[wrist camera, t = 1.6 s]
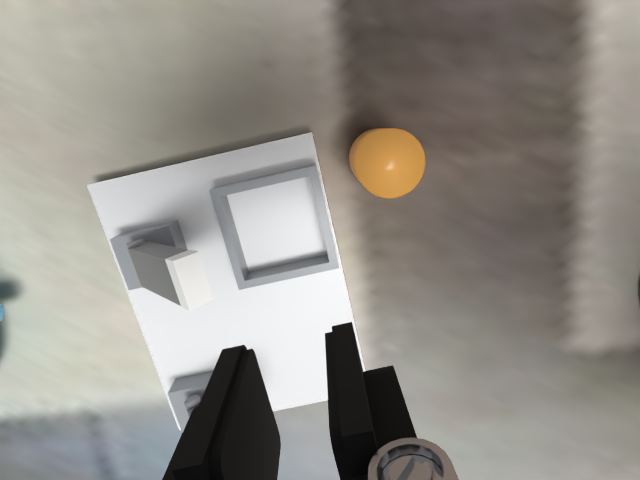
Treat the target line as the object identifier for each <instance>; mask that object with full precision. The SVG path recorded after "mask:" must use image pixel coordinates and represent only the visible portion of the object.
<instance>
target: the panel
mask: <svg viewBox="0 0 640 480" xmlns="http://www.w3.org/2000/svg"><path fill="white" fill-rule="evenodd" d="M87 187H88V190H89V192H90V195H91V198H92V200H93V203H94V206H95V208H96V211H97V214H98V216H99V219H100V222H101V224H102V227H103V230H104V232H105V235H106V237H107V240H108V243H109V245H110V248H111V251H112V253H113V256H114V259H115V261H116V264H117V267H118V269H119V272H120V275H121V277H122V280H123V282H124V285H125V288H126V290H127V293H128V296H129V298H130V301H131V304H132V306H133V309H134V312H135V314H136V317H137V320H138V322H139V325H140V328H141V330H142V333H143V335H144V338H145V341H146V343H147V346H148V349H149V351H150V354H151V357H152V359H153V362H154V365H155V367H156V370H157V373H158V375H159V378H160V381H161V383H162V386H163V388H164V391H165V394H166V396H167V399H168V402H169V404H170V407H171V410H172V412H173V415H174V418H175V420H176V423H177V426H178V428H179V430H181V431H182V433H183V431H184V429H185V426H186V424H187V422H188V419H189V416H188V413H187V410H186V407H185V405H184V402H185V400H186V399H187V398H189V397H191V396H193V395H199V396H200V399H202V396H203V394H204V392H205V389H206V387H207V385H208V382H209V380H210V377H211V375H212V373H213V370H214V368H215V365H216V363H217V361H218V358H219V356H220V354H221V351H222V350H223V349H226V348H231V347H236V346H240V345H245V346H246V348H247V350H248V349H253V350H254V352H255V354H256V358H257V361H258V364H259V368H260V371H261V374H262V378H263V381H264V384H265V388H266V391H267V394H268V398H269V401H270V404H271V408H272V411H277V410H282V409H287V408H291V407H296V406H301V405H306V404H311V403H316V402H321V401H326V400H328V389H327V369H326V348H325V333H329V332H332V326H335V325H340V324H344V323H349V322H352V324H353V328H354V333H355V337H356V342H357V346H358V350H359V355H360V359H361V364H362V368H363V372H364V371H365V366H364V362H363V358H362V353H361V349H360V344H359V340H358V335H357V331H356V326H355V322H354V317H353V313H352V308H351V304H350V299H349V295H348V291H347V286H346V282H345V277H344V273H343V268H342V264H341V259H340V255H339V250H338V246H337V241H336V237H335V232H334V228H333V224H332V219H331V215H330V210H329V206H328V201H327V197H326V192H325V188H324V183H323V179H322V174H321V170H320V165H319V161H318V157H317V152H316V148H315V143H314V139H313V134H312V132H310V133H306V134H301V135H297V136H293V137H288V138H284V139H280V140H276V141H271V142H267V143H263V144H259V145H254V146H250V147H246V148H242V149H237V150H233V151H229V152H225V153H220V154H216V155H212V156H207V157H203V158H199V159H195V160H190V161H186V162H182V163H178V164H173V165H169V166H165V167H161V168H156V169H152V170H148V171H143V172H139V173H135V174H131V175H126V176H122V177H118V178H114V179H109V180H105V181H101V182H97V183H93V184H89V185H87ZM139 239H144V240H145V242H153V243H158V244H163V245H167V246H172V247H177V248H182V249H187V250H194V251H199V254H200V257H201V260H202V264H203V267H204V270H205V273H206V276H207V279H208V282H209V285H210V289H211V292H212V295H213V298H214V300H212V301H210V302H208V303H206V304H204V305H202V306H200V307H198V308H195V309H193V310H191V311H188V310H186V309H184V308H182V307H181V306H180V305H178V304H176V303H174V302H172V301H170V300H168V299H166V298H164V297H162V296H160V295H158V294H156V293H153V292H151V291H149V290H147V289H145V288H142V287H141V285H140V282H139V279H138V276H137V274H136V271H135V268H134V265H133V263H132V260H131V257H130V254H129V252H128V249H127V246H126V244H127V243H129V242H132V241H135V240H139Z"/></svg>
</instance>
